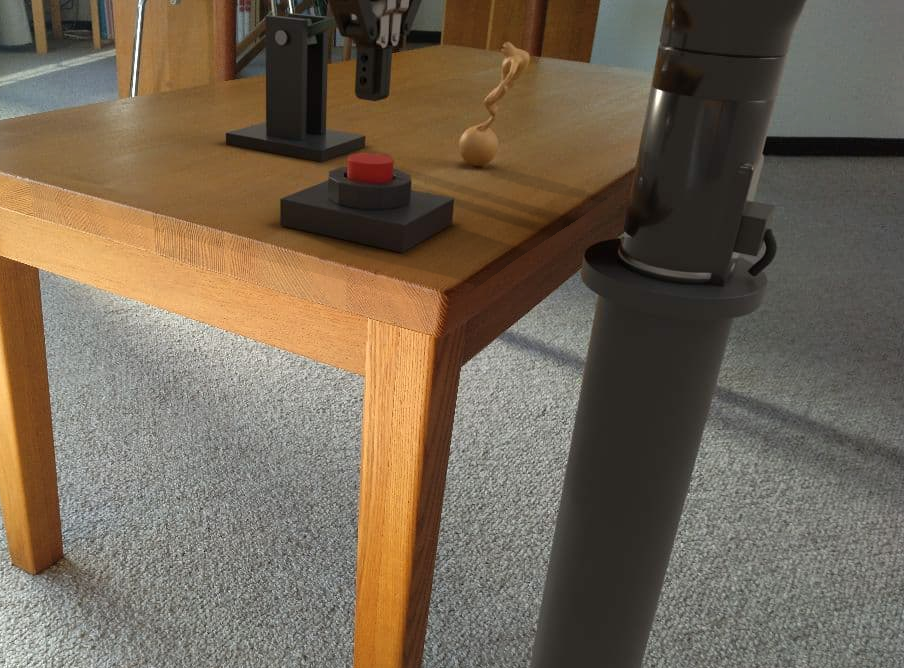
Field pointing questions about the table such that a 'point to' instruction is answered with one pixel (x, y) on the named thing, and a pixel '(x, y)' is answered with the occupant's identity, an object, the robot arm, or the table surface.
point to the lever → (319, 29)
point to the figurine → (492, 110)
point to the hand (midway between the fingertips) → (371, 98)
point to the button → (370, 168)
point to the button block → (368, 211)
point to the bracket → (296, 96)
